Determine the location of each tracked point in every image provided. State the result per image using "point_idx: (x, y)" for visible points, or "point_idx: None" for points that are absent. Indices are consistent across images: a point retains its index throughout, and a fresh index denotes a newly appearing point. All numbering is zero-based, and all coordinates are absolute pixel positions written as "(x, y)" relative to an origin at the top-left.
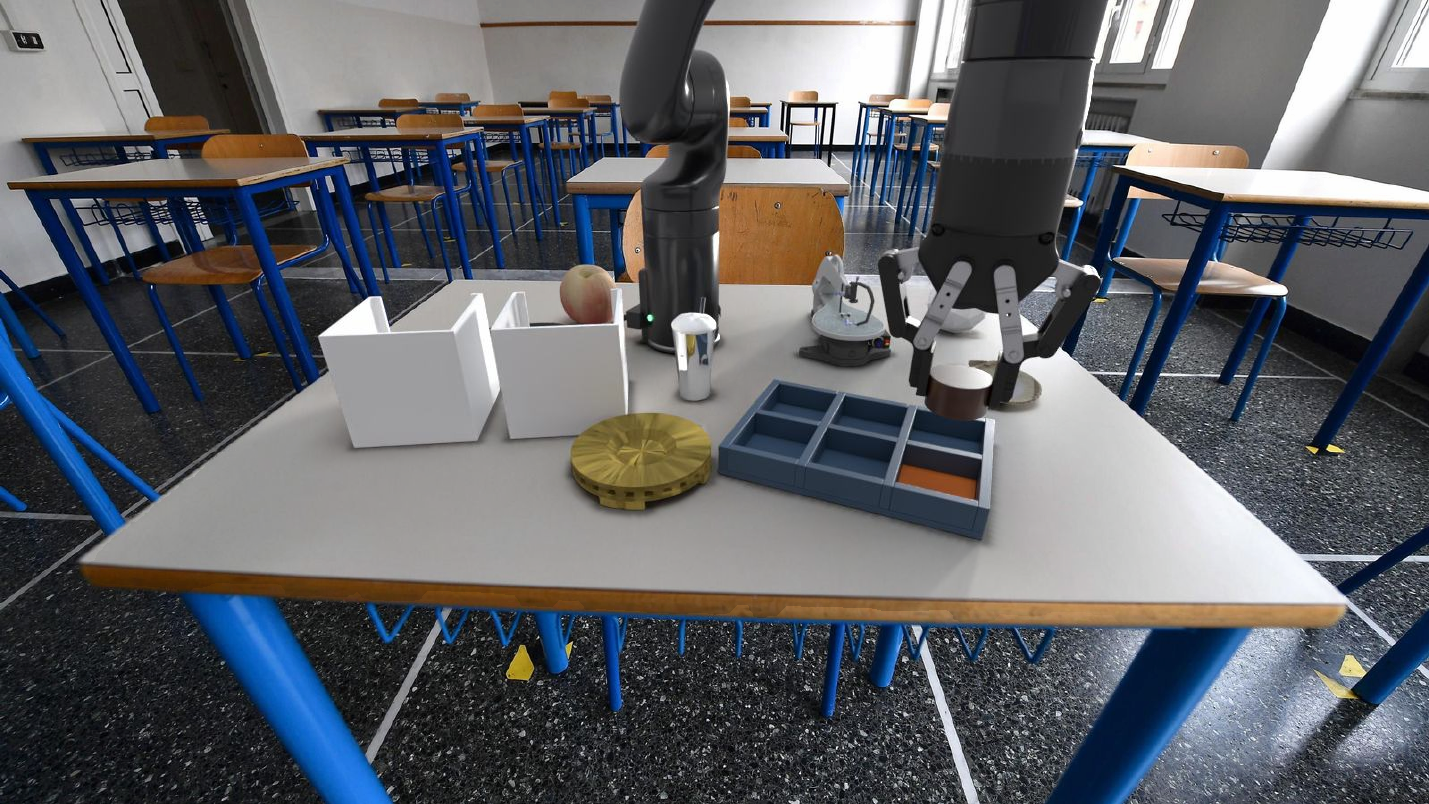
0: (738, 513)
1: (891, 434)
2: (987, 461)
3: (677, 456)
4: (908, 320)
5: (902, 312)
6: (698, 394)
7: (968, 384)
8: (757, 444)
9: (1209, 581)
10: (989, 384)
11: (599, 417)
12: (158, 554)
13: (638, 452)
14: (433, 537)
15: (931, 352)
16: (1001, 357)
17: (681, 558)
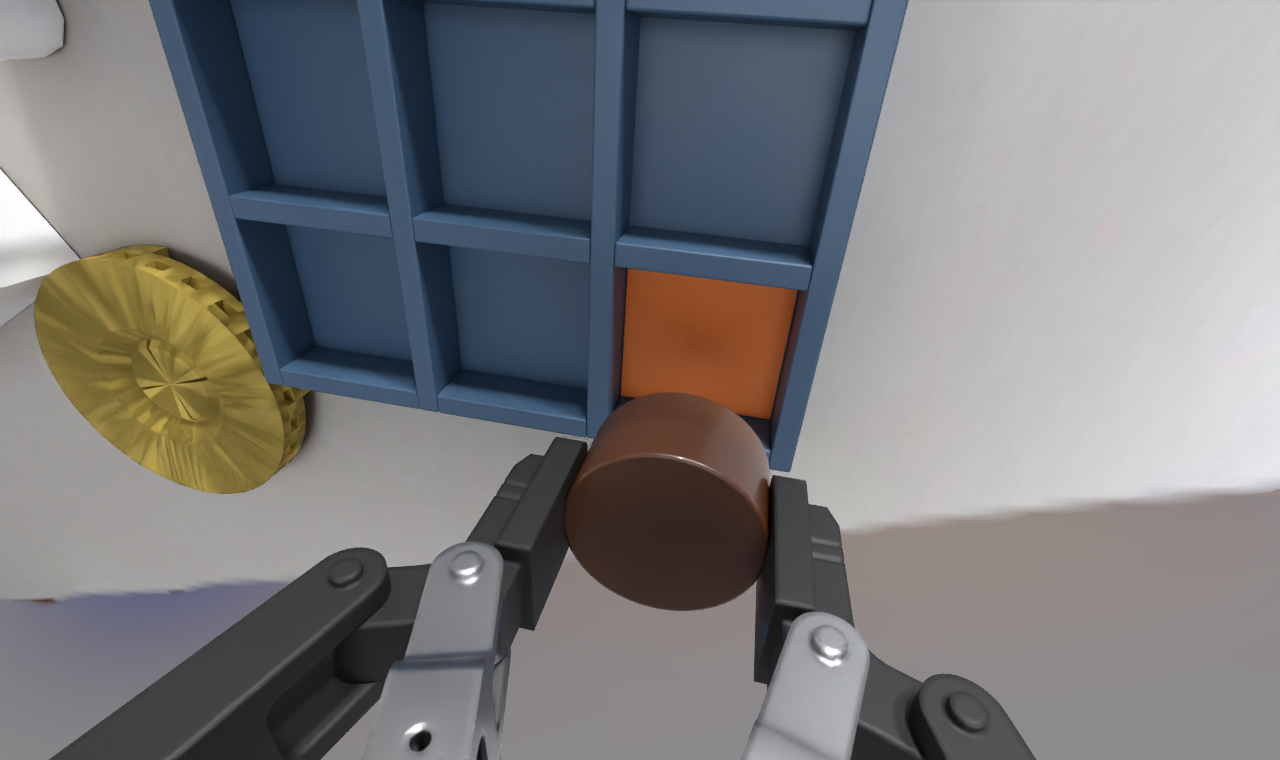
0: (401, 443)
1: (583, 83)
2: (820, 299)
3: (231, 405)
4: (374, 662)
5: (330, 744)
6: (40, 49)
7: (681, 588)
8: (314, 255)
9: (1208, 452)
10: (748, 582)
11: (13, 297)
12: (4, 589)
13: (170, 390)
14: (144, 542)
15: (528, 628)
16: (770, 651)
17: (388, 532)
